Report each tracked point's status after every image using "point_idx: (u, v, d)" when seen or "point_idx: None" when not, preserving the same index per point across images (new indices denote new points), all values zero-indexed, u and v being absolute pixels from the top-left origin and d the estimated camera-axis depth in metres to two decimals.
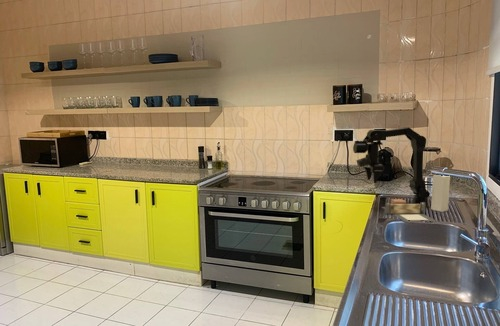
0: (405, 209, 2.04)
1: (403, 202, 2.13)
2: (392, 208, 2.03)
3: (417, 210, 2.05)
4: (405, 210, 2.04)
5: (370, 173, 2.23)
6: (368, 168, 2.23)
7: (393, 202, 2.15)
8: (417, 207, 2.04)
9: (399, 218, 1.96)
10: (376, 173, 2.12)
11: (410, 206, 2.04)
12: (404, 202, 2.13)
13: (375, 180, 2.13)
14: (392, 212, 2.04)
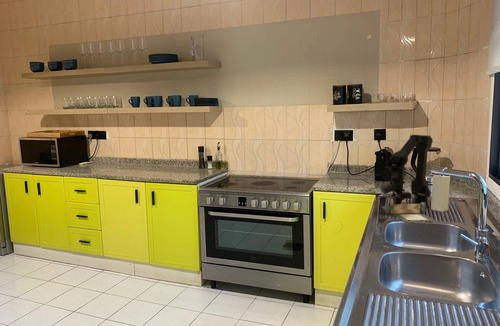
0: (405, 209, 2.04)
1: (403, 202, 2.13)
2: (392, 208, 2.03)
3: (417, 210, 2.05)
4: (405, 210, 2.04)
5: None
6: (395, 196, 2.07)
7: (393, 202, 2.15)
8: (417, 207, 2.04)
9: (399, 218, 1.96)
10: (398, 199, 2.05)
11: (410, 206, 2.04)
12: (404, 202, 2.13)
13: None
14: (392, 212, 2.04)
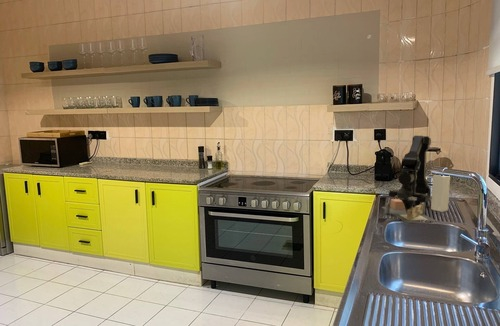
0: (416, 212, 1.98)
1: None
2: (411, 213, 1.93)
3: (421, 211, 2.03)
4: (416, 213, 1.98)
5: None
6: (407, 200, 1.98)
7: (393, 202, 2.15)
8: (421, 208, 2.03)
9: (399, 218, 1.96)
10: (411, 202, 1.97)
11: (418, 208, 2.00)
12: None
13: None
14: (410, 217, 1.94)
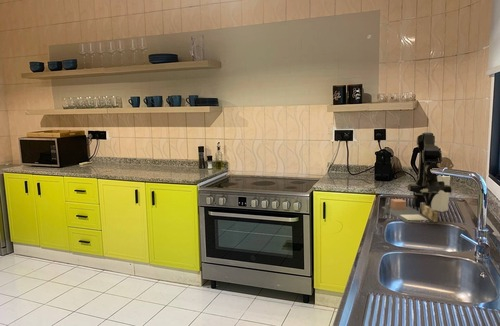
0: None
1: (403, 202, 2.13)
2: None
3: None
4: None
5: None
6: None
7: (393, 202, 2.15)
8: None
9: (399, 218, 1.96)
10: None
11: None
12: (404, 202, 2.13)
13: None
14: None
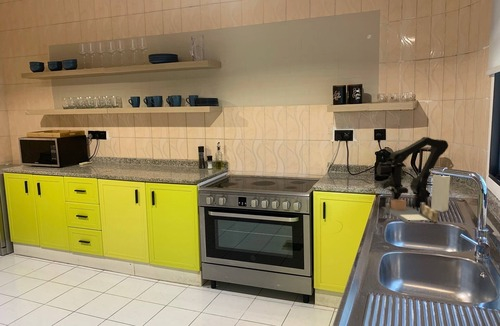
0: None
1: (403, 202, 2.13)
2: None
3: None
4: None
5: None
6: (394, 191, 2.20)
7: (393, 202, 2.15)
8: None
9: (399, 218, 1.96)
10: (396, 193, 2.18)
11: None
12: (404, 202, 2.13)
13: None
14: None
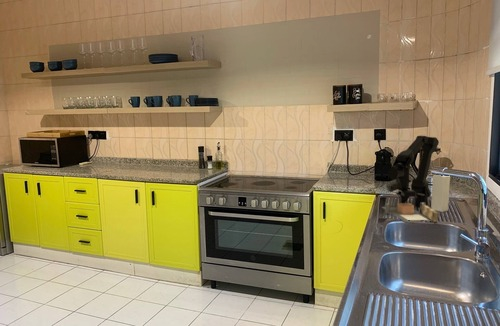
0: None
1: (411, 206, 2.04)
2: None
3: None
4: None
5: None
6: (401, 194, 2.11)
7: (400, 206, 2.06)
8: None
9: (399, 218, 1.96)
10: (404, 197, 2.09)
11: None
12: (412, 206, 2.04)
13: None
14: None
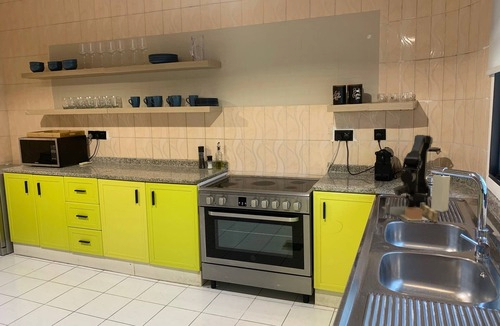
0: None
1: (419, 210, 1.95)
2: None
3: None
4: None
5: None
6: (409, 198, 2.02)
7: (408, 210, 1.97)
8: None
9: (399, 218, 1.96)
10: (412, 201, 2.00)
11: None
12: (420, 210, 1.95)
13: None
14: None
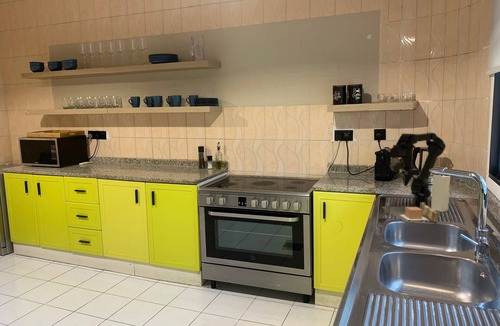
0: None
1: (419, 210, 1.95)
2: None
3: None
4: None
5: None
6: None
7: (408, 210, 1.97)
8: None
9: (399, 218, 1.96)
10: (407, 176, 2.12)
11: None
12: (420, 210, 1.95)
13: (406, 183, 2.13)
14: None
